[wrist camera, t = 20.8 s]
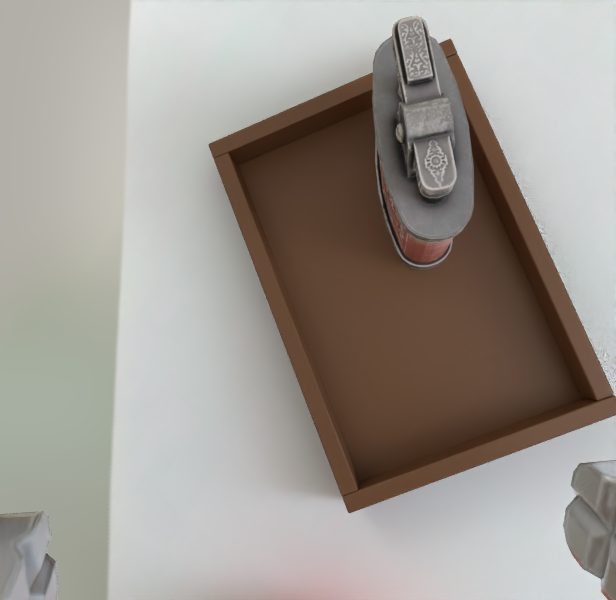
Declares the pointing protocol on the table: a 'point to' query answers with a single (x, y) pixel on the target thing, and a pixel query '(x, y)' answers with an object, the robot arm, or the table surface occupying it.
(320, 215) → the tray
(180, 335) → the table surface
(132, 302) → the table surface
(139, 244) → the table surface
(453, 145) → the lighter
